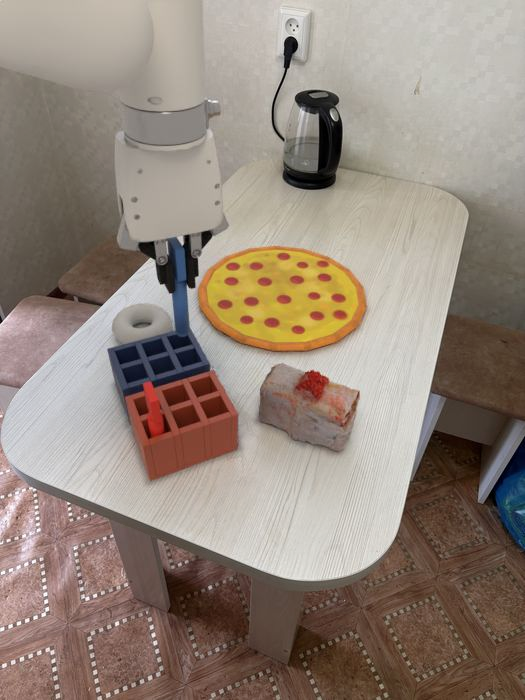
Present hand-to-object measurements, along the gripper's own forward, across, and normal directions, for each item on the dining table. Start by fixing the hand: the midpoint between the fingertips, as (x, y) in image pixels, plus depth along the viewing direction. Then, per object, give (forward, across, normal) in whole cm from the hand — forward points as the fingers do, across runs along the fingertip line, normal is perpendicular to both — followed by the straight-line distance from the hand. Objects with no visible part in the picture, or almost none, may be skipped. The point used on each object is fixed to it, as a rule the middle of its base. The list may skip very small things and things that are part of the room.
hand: (178, 283), depth 58 cm
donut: (+24, +2, -20) cm, 31 cm away
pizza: (+24, -26, -21) cm, 41 cm away
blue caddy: (+24, +2, -6) cm, 25 cm away
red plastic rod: (+23, +6, +6) cm, 25 cm away
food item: (+24, -15, +8) cm, 30 cm away
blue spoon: (+8, 0, 0) cm, 8 cm away
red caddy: (+24, +2, +4) cm, 24 cm away
